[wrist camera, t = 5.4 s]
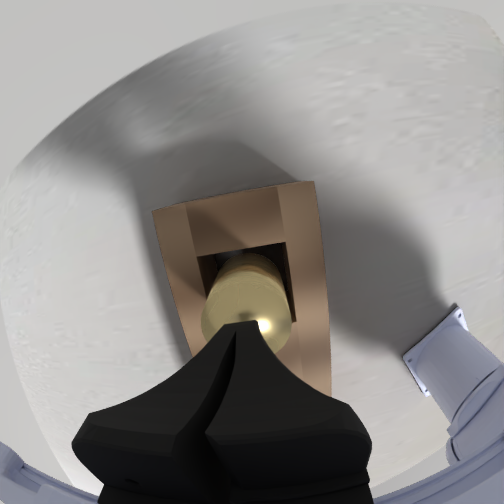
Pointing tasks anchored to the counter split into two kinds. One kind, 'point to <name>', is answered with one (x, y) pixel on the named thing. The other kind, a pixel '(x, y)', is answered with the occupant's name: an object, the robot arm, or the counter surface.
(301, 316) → the block
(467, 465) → the robot arm
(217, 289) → the peg
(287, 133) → the counter surface
